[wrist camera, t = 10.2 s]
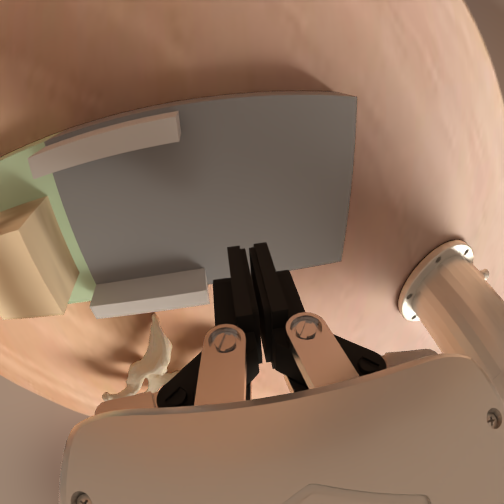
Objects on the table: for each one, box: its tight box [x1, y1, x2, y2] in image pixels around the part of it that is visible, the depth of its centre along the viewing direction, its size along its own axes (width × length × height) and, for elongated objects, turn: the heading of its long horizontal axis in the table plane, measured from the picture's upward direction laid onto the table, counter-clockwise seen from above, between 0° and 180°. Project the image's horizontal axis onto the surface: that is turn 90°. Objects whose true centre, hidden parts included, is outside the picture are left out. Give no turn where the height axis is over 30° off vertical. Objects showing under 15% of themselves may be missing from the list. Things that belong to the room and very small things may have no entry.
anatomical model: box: [102, 314, 180, 401], centre depth 27 cm, size 16×12×5 cm
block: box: [0, 196, 79, 320], centre depth 13 cm, size 6×6×4 cm
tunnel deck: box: [0, 91, 357, 319], centre depth 16 cm, size 31×12×5 cm, turn 93°
